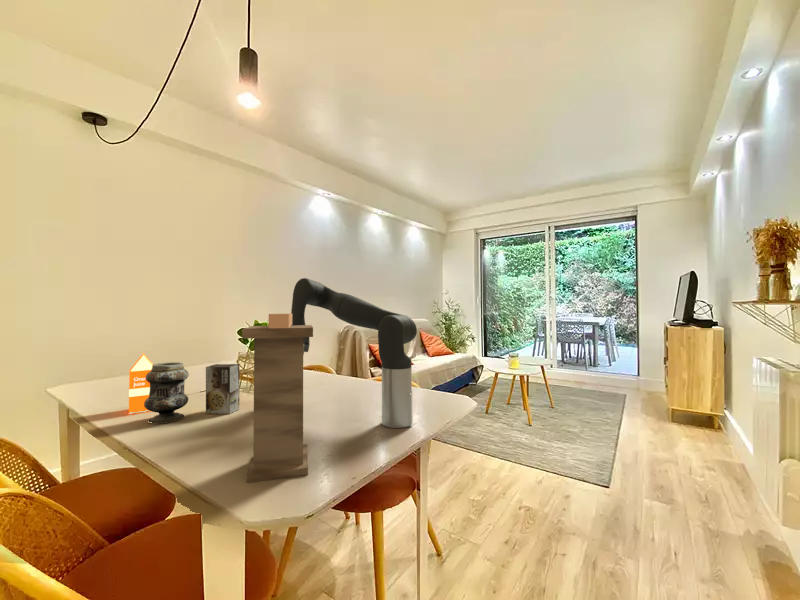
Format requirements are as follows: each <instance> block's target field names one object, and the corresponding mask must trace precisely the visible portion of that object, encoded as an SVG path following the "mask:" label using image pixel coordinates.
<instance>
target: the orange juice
mask: <svg viewBox="0 0 800 600" xmlns="http://www.w3.org/2000/svg"><path fill="white" fill-rule="evenodd" d="M153 364H154V363H153V362H152V361H151V360H150V359H149V357H147V355H146V354H145V353H144V352H142V354H140V356H139V358H138V359H137V360H136V362H134V363H133V365H132V366H131V367H130V369H129V374H128V376H129V380H128V383H129V384H128V414H129V413H130V412H138V411H145V410H147V409H146V408H145V407H144V402H145V400H146V399H147V398H148V397H149V392H150V383H149V382H147V381H146V378H145V377H146V375H147V374H148V373H149V372H150V371H151V369H152V365H153Z"/></svg>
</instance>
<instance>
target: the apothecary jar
mask: <svg viewBox="0 0 800 600" xmlns="http://www.w3.org/2000/svg"><path fill="white" fill-rule="evenodd" d="M189 376H190V374H189V371H188V370H187V369H185V367H184V363H183V362H178V361H177V362H176V361H175V362H173V361H172V362H171V361H170V362H168V361H167V362H159V363H157V362H156V363H153V365H152V369H151V371H150V372H149V373H148V374H147V375H146V377H145V378H146V381H147V382H149V383H150V392H149V397H148V398H147V399H146V400H145V402H144V407H145V408H146V409H147V410H149V411H152V412H153V413H158V414H157V415H154V416H152V417H151V418H149V419H148V420H147V422H148V421H149V422H152V423H161V424H166V423H165V422H169V423H173V422H172V421H174V422H177V421H180V420H183V419H184V418H185V415H184V413H180V412H178V411H177V410H180V409H183V407H185V406H186V404H187V403H188V402H189V396H188V395H187V394H185V381H186V380H187V379H188V377H189ZM175 411H177V412H175ZM152 412H151V413H152ZM182 418H183V419H182ZM152 423H151V424H152Z"/></svg>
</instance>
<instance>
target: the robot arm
mask: <svg viewBox="0 0 800 600" xmlns="http://www.w3.org/2000/svg"><path fill="white" fill-rule="evenodd" d="M307 305H309V306H313V307H319V308H321V309H324V310H328V311H329V312H331V313H332V315H334V316H335V318H337V319H339V320H341V321H343V322H344V323H345V322H346V323H347V324H350V325H352V326H356V327H358V328H359V327H360V328H365V329H370V330H371V329H372V330H376V331H377V342H378V343H377V344H378V357H379V359H380V361H381V424H382V426H384V427H386V428H390V429H391V428H392V429H393V428H394V429H399V428H400V429H402V428H408V427H412V425H413V389H412V384H413V383H412V381H413V378H412V377H413V376H412V375H413V374H412V373H413V370H412V367H413V366H412V363H413V362H412V359H411V357H410V356H408V355H407V354H406V352H405V346H404V345H405V344H409V343H410V342H411V341H413V340H414V339H415V338H416V336H417V334H418V329H417V326H416V325H417V324H416V323H415V321H414V320H413V319H412V318H411V317H410V316H408V315H404V314H400V313H396V312H394V311H389V310H386V309H384V308H381V307H379V306H377V305H375V304H373V303H370V302H369V301H366V300H365V299H362V298H359V297H357V296H354V295H351V294H348V293H344V292H338V291H335V290H333V289H331V288H329V287H328V286H326V285H324V284H323V283H321V282H319V281H315V280H313V279H309V278H305V277H304V278H300V279H299V280H298V281H297V282H296V283H295V286H294V288H293V292H292V301H291V310H290V311H291V312H290V314H292V325H306V319H305V312H306V307H307ZM309 350H310V337H303V356H304V354H305V353H308V352H309Z"/></svg>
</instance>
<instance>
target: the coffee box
mask: <svg viewBox="0 0 800 600" xmlns="http://www.w3.org/2000/svg"><path fill="white" fill-rule="evenodd" d="M238 409H239V410H240V363H218V364H217V363H216V364H212V365H209V366H206V367H205V414H206V413H218V414H222V415H225V414H229V415H230V414H232V412H233V413H235V412H237V411H239V410H238ZM236 410H237V411H236Z"/></svg>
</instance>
